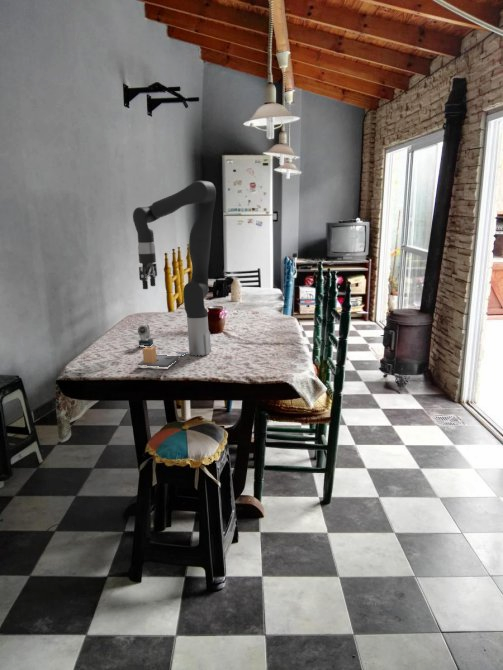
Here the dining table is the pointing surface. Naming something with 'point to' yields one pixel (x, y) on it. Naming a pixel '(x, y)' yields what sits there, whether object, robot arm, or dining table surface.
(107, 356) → the dining table surface
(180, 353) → the phone
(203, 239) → the robot arm
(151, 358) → the block
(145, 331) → the watch
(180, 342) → the dining table surface
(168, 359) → the outlet plate
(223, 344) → the dining table surface
